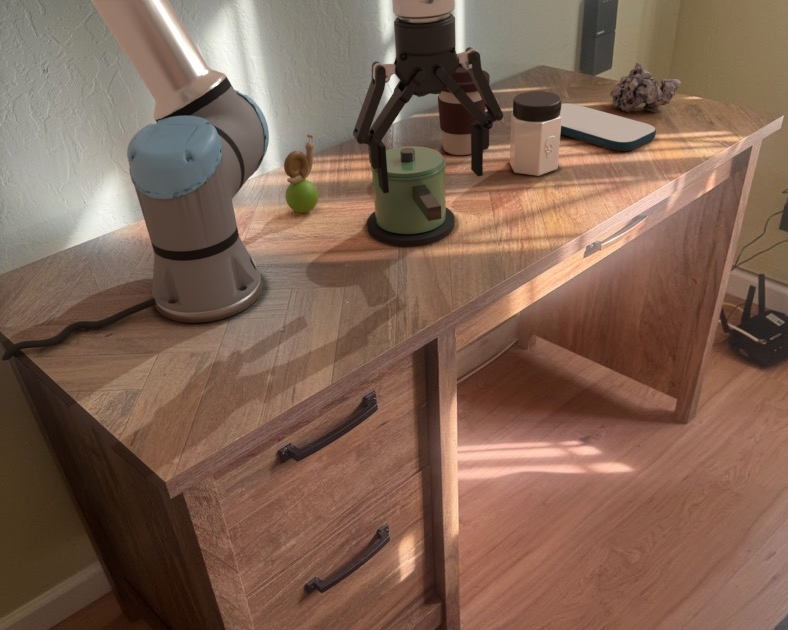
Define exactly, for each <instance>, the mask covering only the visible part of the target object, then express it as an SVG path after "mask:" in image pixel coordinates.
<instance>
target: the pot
mask: <svg viewBox="0 0 788 630" xmlns="http://www.w3.org/2000/svg"><path fill="white" fill-rule="evenodd" d="M386 160H387V173H388V186H389V193H383V192H382V190H381V188H380V187H379V181H378V170H377V169H373V167H372V166H371V164H369V166H370V167H369V168H370V172H371V178H372V190H373V204H374V211H375V218H376V223H377V225H378V226H379V227H380V228H382V229H384V230H386V231H389V232H392V233H398V234H417V233H423V232H427V231H430V230H433V229H435V228H437V227H439V226H440V225H441V224H442V223H443V222H444V221H445V218H446V208H447V205H446V203H447V201H446V200H447V199H446V197H447V196H446V166H447V161H446V158H445V157H444V156H443V154H441V152H440V151H438V150H436V149H433V148H430V147H425V146H417V145H415V146H414V145H407V146H406V145H405V146H399V147H393V148H389V149H386Z"/></svg>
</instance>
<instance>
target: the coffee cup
mask: <svg viewBox="0 0 788 630" xmlns="http://www.w3.org/2000/svg"><path fill="white" fill-rule="evenodd" d="M481 69H482V71H483V73H484V75H485V77H486V79H487V82H488V84H489V85H490V77H491V75H490V74H489V72H487V71H486V70H484V69H483V68H482V67H481ZM452 78H453V79H454V81H455V82H456V83H457V84H458V85H459V86H460V87H461V89H462V90H463V91H464V92H465V93H466V94H467V95H468V96H469V97H470V99H471V100H472V101H473V102H474V103H475V104H476V105H477V106H478V107H479V109H480V110H481V111H482V112H483V113H484V112H486V109H487V108H486V106H485V104H484V102H483V100H482V98H481V96H480V94H479V92H478V90H477V88H476V86H475V84H474V82H473V80H472V78H471V76H470V74H469V72H468V70H466V69H465V68H464V67H463V66H462V64H459V66H458V68H457V70H456V71H455V73H454V75H453V76H452ZM437 105H438V117H439V127H440V130H441V138H442V139H441V140H442V149H443V151H444V152H446V153H448V154H449V155H452V156H453V155H454V156H468V155H471V124H473V123H477V120H476V119H475V118H474V117H473V116H472V115H471V114H470V113H469V112H468V111H467V109H466V108H465V107H464V106H463V105H462V104H461V103H460V102H459V101H458V100H457V99H456V98H455V96H454V95H453V94H452V93H451V92H450V91H449V90H448V89H447V88H445V89H444V90H443V91H442V92H441V93H440V94H438V95H437Z"/></svg>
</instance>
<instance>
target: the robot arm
mask: <svg viewBox="0 0 788 630" xmlns="http://www.w3.org/2000/svg"><path fill="white" fill-rule="evenodd" d="M90 1H91V3H92V4H93V6H94V7H95V9H96V11H97V12H98V14H99V15H100V17H101V19H102V20H103V21H104V24H105V25H106V26H107V28H108V29H109V31H110V33H111V34H112V35H113V37H114V39H115V41H117V43H118V45H119V46H120V48H121V49H122V51H123V53H124V54H125V56H126V57H127V59H128V61H129V62H130V63H131V65H132V66H133V68H134V69H135V71H136V73H137V75H139V78H140V79H141V80H142V82H143V84H144V85H145V87H146V89H147V90H148V91H149V93H150V94H151V96H152V98H153V99H154V102H155V104H154V109H153V120H155V122H156V123H149V124H147V125H145V126H143V127H142V128H141V129H140V130H138V131H137V132H136V133H135V134H134V135H132V137H131V139H130V141H129V143H128V145H127V149H126V157H127V162H128V166H129V169H128V170H129V176H130V180H131V182H132V184H133V187H134V189H135V193H136V196H137V199H138V202H139V206H140V209H141V213H142V216H143V219H144V223H145V226H146V227H145V228H146V229H147V233H148V237H149V241H150V243H151V247H152V250H153V255H154V257H153V270H152V285H151V291H152V292H151V295H152V298H149V299H148V300H147V299H146V300H145V301H143V302H140V303H137V304H135V305H132V306H130V307H128V308H125V309H123V310H121V311H119V312H117V313H115V314H113V315H111V316H108V317H106V318H103V319H100V320H94V321H93V320H80V321H75V322H72V323H70V324H68V325H67V326H66V327H65V328H63V329H62V330H61V331H60V332H59V333H58V334H57V335H55V336H53V337H50V338H44V339H34V340H24V341H19V342H16V343H13V344H12V345H11V346H9V347H8V348H7V349H6V350H5V351H4V353H3V355H2V357H1V361H5V362H6V361H8V360H10V359H12V357H13V356H14V355H15V354H16V353H18V352H19V351H21V350H25V349H34V348H38V349H39V348H46V347H51V346H55V345H58V344H60V343H61V342H63V341H64V340H66V339H67V338H68V337H69V336H70V335H71V334H72V333H73V332H75V331H78V330H81V329H89V330H91V329H93V330H94V329H102V328H105V327H109V326H110V325H113V324H114V323H117V322H120V321H121V320H123V319H125V318H127V317H130V316H133V315H134V314H137V313H139V312H142V311H144V310H146V309H149V308H151V307H154V306H155V308H156V311H158V313H160V315H161V316H163V317H165V318H167V319H169V320H172V321H176V322H179V323H188V324H189V323H190V324H198V323H199V324H200V323H201V324H202V323H208V322H216V321H219V320H223V319H225V318H229V317H232V316H234V315H237V314H239V313H241V312H243V311H244V310H246V309H248V308H249V307H251V306H252V305H253V304H254V303H255V302H256V301H257V300H258V299H259V298H260V296H261V294H262V291H263V281H262V276H261V272H260V270H259V267H258V266H257V265H256V260H255V258H254V256H253V255H252V254H251V252H249V251H248V249H247V248H246V246H245V244H244V243H243V241H242V239H241V237H240V233H239V228H238V224H237V223H238V222H237V218H236V213H235V209H234V203H233V199H234V198H235V197H236V195H237V194H238V192H239V191H240V190H241V189H242V187H244V185H245V184H246V182H247V181H248V180H249V179H250V178H251V177H252V176H253V175H254V174H255V173H256V171H258V170H259V168H260V167H261V164H262V162H263V160H264V158H265V156H266V154H267V152H268V147H269V143H270V132H269V126H268V122H267V119H266V117H265V115H264V113H263V110H262V109H261V108H260V106H259V104H258V103H257V102H256V101H255V100H254V99H252V98H251V97H250V96H249V95H247V94H243V93H242V92H240V91H239V90H236V89H235V88H234V86H233V85H232V83H231V81H230V80H229V78H228V76H227V75H226V73H224V72H221V71H218V70H215V69H212V68H210V67H209V65H208V64H207V62H206V60H205V59H204V57H203V56H202V54H201V52H200V51H199V49H198V47H197V45H196V43H195V42H194V41H193V39H192V37H191V36H190V34H189V32H188V31H187V29H186V27H185V25H184V24H183V22H182V21H181V19H180V17H179V16H178V14H177V12H176V10H175V9H174V7H173V5H172V4H171V2H170V1H169V0H90ZM455 1H456V0H392V13H393V14H394V15H395V16H396V18H395V20H394V21H393V29H394V45H395V48H394V49H395V57H394V58H395V59H394V62H393V63H380V62H379V61H378V60H376V61H373V62H372V64H371V80H370V83H369V86H368V88H367V91H366V94H365V97H364V100H363V102H362V105H361V108H360V112H359V115H358V117H357V120H356V122H355V126H354V129H353V131H352V136H353V137H354V139H355V141H356V142H357V144H359V145H363V144H364V145H367V149H368V158H369V161H368V162H369V165H371V166H372V167H373V169H377V170H378V181H379V187H380V188H381V190H382V192H383V193H389V186H388V173H387V160H386V150H387V149H386V148H387V147H386V145H385V143H384V142H383V139H384V137H385V136H386V134H387V133H388V131H389V130H390V128H391V127H392V125H393V123H394V122H395V120H396V119H397V117H398V116H399V114H400V113H401V111H402V109H403V108H404V107H405V106H406V104H408V103H409V102H410V101H411V99H412V98H413V96H416V97H417V98H421V97H425V96H428V95H439V94H440V93H441V92H442V91H443V90H444V89H445V88H447V89H448V90H449V91H450V92H451V93H452V94H453V95H454V96H455V98H456V99H457V100H458V101H459V102H460V103H461V104H462V105H463V106H464V107H465V108H466V109H467V111H468V112H469V113H470V114H471V115H472V116H473V117H474V118H475V119H476V120H477V123H473V124H471V154H470V170H471V171H472V172H473V174H474V175H476V177H483V176H484V151H485V150H488V149H489V147H490V129H492V128H493V126H494V122H496V121H497V122H499V121H501V120H503V118H504V113H503V111H502V109H501V107H500V104H499V103H498V100H497V98H496V96H495V94H494V92H493V89H492V88H491V85H490V83H489V84H488V82H487V79H486V77H485V75H484V73H483V71H482V70H483V68H482V60H481V54H480V52H478V51H477V50H476V49H474V48H473V47H471V46H468V47H467V48H465V51H462V52H459V53H457V50H456V17H455V16H454V14H453V13H452V12H453V11H454V10H455V6H456V5H455V4H456V3H455ZM459 64H462V66H463V67H464V68H465V69H466V70H468V72H469V74H470V76H471V78H472V80H473V82H474V84H475V86H476V88H477V90H478V92H479V94H480V96H481V98H482V100H483V102H484V104H485V106H486V108H485V109H486V110H485V112H484V113H483V112H482V111H481V110H480V109H479V107H478V106H477V105H476V104H475V103H474V102H473V101H472V100H471V99H470V97H469V96H468V95H467V94H466V93H465V92H464V91H463V90H462V89H461V87H460V86H459V85H458V84H457V83H456V82H455V81H454V79H453V78H452V76H453V75H454V73H455V71H456V70H457V68H458V66H459ZM481 68H482V69H481ZM393 75H395V76H396V77H397V79H398V80H399V81H398V83H397V84H396V85H395V88H394V89H393V91H392V92H393V93H392V94H391V95H390V98H389V99H388V101H387V102H386V103H385V105H384V107H383V108H382V110H381V112H380V113H379V114H378V116H377V117H376V119H375V116H376V113H377V111H378V108H379V106H380V102H381V100H382V97H383V94H384V91H385V88H386V84H387V83H389V82H390V80H391V77H392V76H393ZM374 119H375V121H374Z"/></svg>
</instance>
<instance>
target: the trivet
mask: <svg viewBox="0 0 788 630" xmlns="http://www.w3.org/2000/svg"><path fill="white" fill-rule="evenodd" d="M455 219H456V217H455V215H454V212H453V211H452V210H451V209H450V208H448V207H446V218H445V221H444V222H443V223H442V224H441V225H440V226H439V227H437V228H435V229H433V230H430V231H427V232H423V233H417V234H398V233H392V232H389V231H386V230H384V229H382V228H380V227H379V226H378V225H377V223H376V218H375V210H374V211H373V212H372V213H371V214H370V215H369V216H368V218H367V221H366V225H367V226H366V227H367V232H368V234H369V235H370V237H372V239H374V240H376V241H378V242H381V243H383V244H387V245H389V246H390V245H391V246H397V247H398V246H399V247H416V246H417V247H418V246H424V245H429V244H432V243H435V242H438V241H440V240H443V239H444V238H447V236H449V235H450V234H451V233H452V232H453V231H454V229H455V225H456V224H455V223H456V220H455Z"/></svg>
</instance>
